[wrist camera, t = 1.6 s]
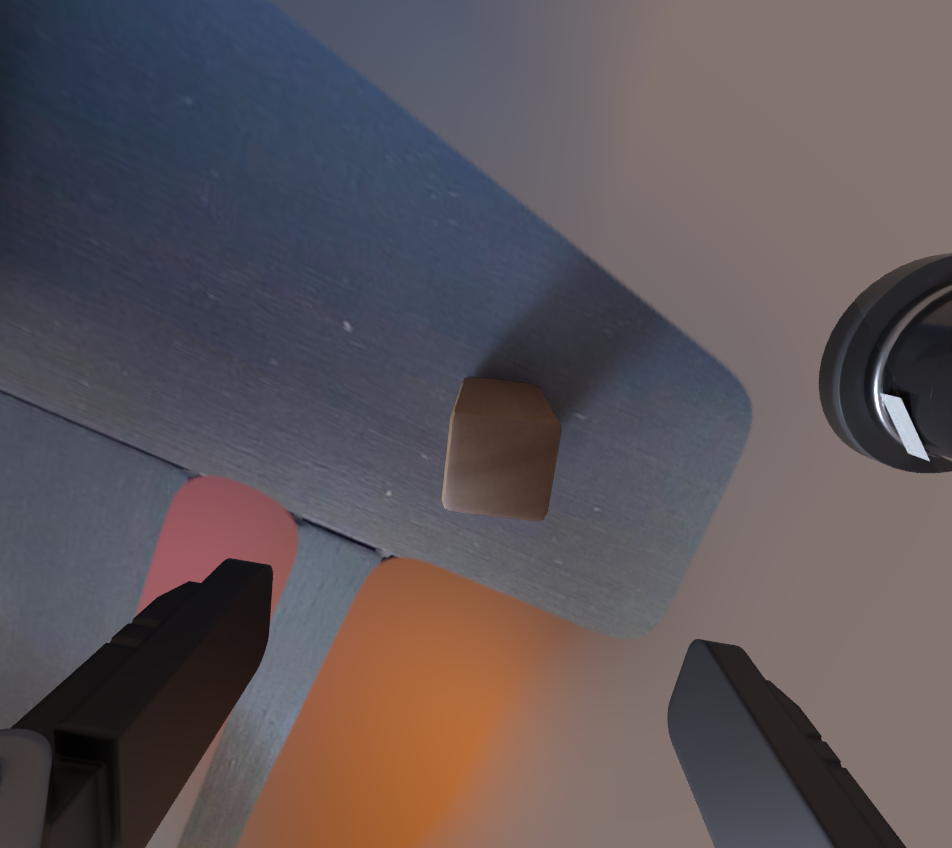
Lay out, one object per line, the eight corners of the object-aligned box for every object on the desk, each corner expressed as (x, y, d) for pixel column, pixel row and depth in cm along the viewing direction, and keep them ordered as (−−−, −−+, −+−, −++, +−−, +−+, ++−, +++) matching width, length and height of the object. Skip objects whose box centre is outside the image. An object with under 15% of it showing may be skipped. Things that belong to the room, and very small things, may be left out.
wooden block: (529, 456, 25) (547, 526, 17) (455, 448, 25) (439, 513, 17) (540, 383, 24) (565, 422, 16) (463, 374, 24) (450, 409, 16)
